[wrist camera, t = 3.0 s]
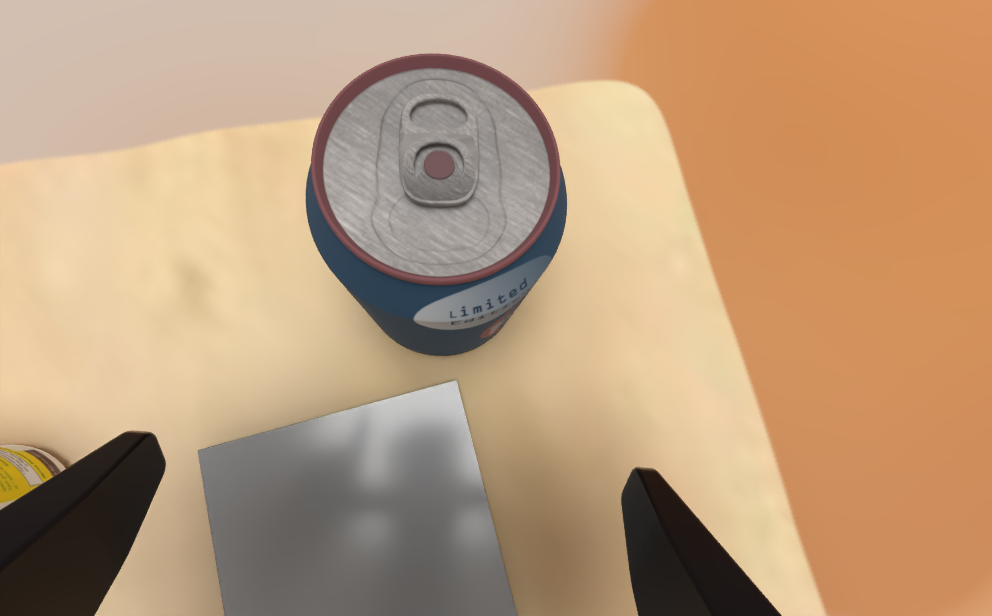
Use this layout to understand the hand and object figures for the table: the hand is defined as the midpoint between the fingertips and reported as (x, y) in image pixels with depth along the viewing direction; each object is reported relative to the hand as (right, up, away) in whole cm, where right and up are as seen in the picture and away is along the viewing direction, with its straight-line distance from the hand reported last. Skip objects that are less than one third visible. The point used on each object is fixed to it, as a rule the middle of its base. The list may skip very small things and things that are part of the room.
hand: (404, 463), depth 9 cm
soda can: (-1, +4, +14) cm, 14 cm away
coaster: (-4, -7, +11) cm, 14 cm away
